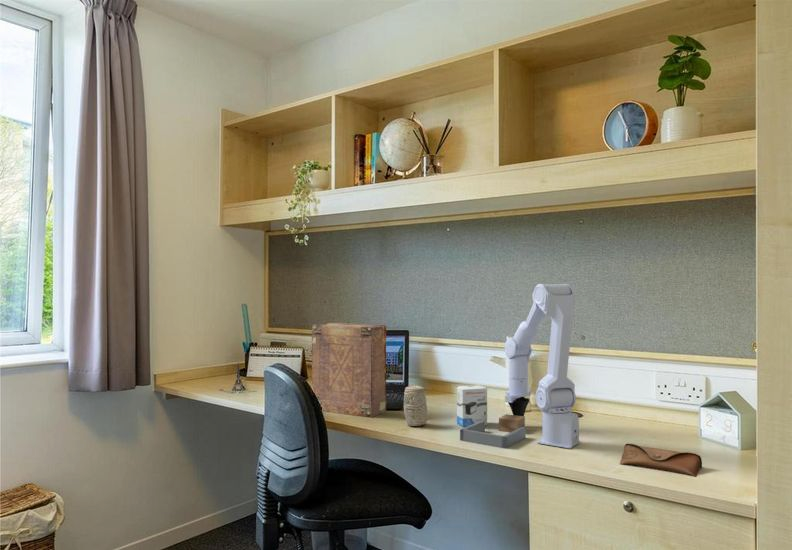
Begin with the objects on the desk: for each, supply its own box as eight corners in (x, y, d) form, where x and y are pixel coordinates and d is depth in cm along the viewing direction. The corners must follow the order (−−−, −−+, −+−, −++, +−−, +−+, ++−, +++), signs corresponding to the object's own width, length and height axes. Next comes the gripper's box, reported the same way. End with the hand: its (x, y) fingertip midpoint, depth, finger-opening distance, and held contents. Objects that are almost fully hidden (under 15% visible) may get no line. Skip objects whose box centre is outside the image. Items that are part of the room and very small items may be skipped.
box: (525, 437, 169) (525, 427, 169) (505, 448, 158) (505, 437, 158) (481, 430, 177) (481, 420, 177) (460, 440, 167) (460, 429, 167)
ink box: (462, 427, 181) (462, 389, 181) (456, 423, 186) (456, 386, 186) (488, 425, 183) (487, 387, 184) (481, 421, 188) (481, 385, 188)
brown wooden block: (524, 429, 179) (524, 416, 179) (518, 434, 174) (518, 420, 174) (506, 427, 182) (505, 414, 182) (498, 431, 177) (498, 418, 177)
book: (311, 409, 208) (311, 324, 208) (327, 404, 215) (327, 322, 216) (371, 417, 195) (371, 326, 195) (386, 412, 203) (386, 325, 203)
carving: (407, 422, 188) (407, 384, 188) (430, 424, 186) (430, 385, 186) (400, 426, 182) (400, 387, 183) (423, 428, 180) (423, 389, 180)
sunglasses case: (616, 464, 144) (619, 437, 147) (621, 471, 149) (624, 446, 152) (698, 477, 134) (700, 448, 137) (701, 485, 139) (703, 457, 142)
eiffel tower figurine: (216, 391, 246) (216, 359, 246) (238, 387, 253) (238, 356, 254) (236, 395, 236) (236, 362, 236) (257, 392, 243) (257, 359, 243)
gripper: (516, 373, 190) (516, 416, 190) (495, 380, 178) (496, 425, 178) (537, 375, 186) (537, 418, 186) (517, 382, 174) (517, 428, 174)
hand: (518, 422), depth 182 cm, fingers closed
